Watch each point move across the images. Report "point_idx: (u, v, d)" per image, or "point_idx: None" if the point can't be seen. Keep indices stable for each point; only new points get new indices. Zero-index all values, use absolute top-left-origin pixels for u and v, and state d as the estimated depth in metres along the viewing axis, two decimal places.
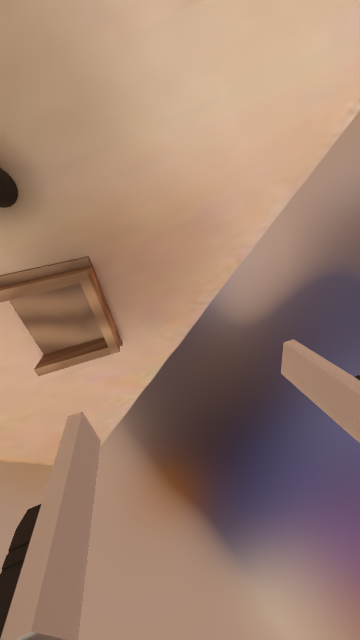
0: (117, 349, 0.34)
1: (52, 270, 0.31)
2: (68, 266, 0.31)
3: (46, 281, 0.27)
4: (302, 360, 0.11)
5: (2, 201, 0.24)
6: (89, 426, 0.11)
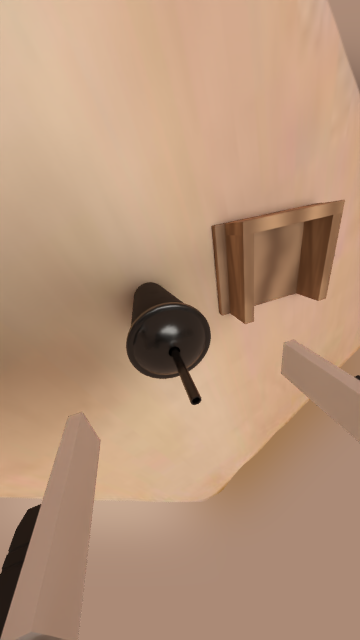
0: (341, 202, 0.25)
1: (222, 267, 0.29)
2: (221, 250, 0.27)
3: (245, 269, 0.25)
4: (301, 360, 0.11)
5: None
6: (89, 426, 0.11)
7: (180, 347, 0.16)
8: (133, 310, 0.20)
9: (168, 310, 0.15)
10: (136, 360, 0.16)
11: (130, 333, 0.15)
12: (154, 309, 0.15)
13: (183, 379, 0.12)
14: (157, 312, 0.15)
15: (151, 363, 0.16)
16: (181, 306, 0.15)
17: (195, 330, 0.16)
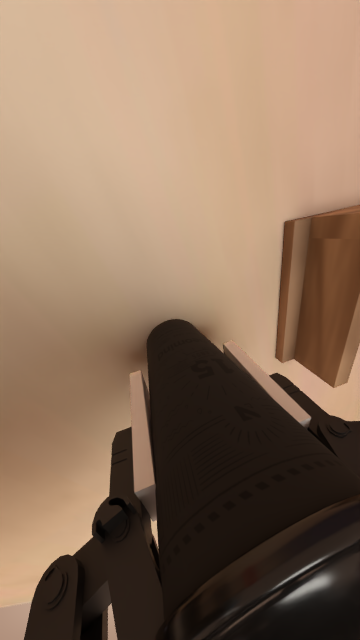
0: None
1: (295, 291, 0.17)
2: (298, 263, 0.16)
3: (358, 303, 0.13)
4: (234, 359, 0.12)
5: (213, 344, 0.14)
6: (145, 383, 0.13)
7: None
8: (155, 411, 0.09)
9: (341, 568, 0.03)
10: None
11: None
12: (289, 579, 0.03)
13: None
14: (300, 589, 0.03)
15: None
16: None
17: None
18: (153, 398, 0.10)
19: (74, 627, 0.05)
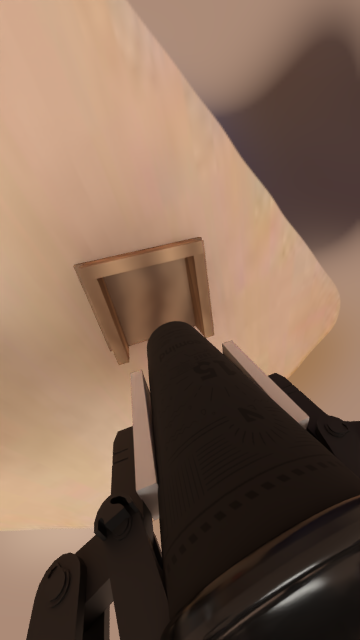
0: (199, 242, 0.23)
1: None
2: None
3: (98, 313, 0.23)
4: (233, 359, 0.12)
5: None
6: (145, 382, 0.13)
7: None
8: (158, 412, 0.09)
9: (346, 565, 0.04)
10: None
11: None
12: (296, 575, 0.03)
13: None
14: (308, 585, 0.03)
15: None
16: None
17: None
18: (155, 399, 0.10)
19: (76, 625, 0.05)
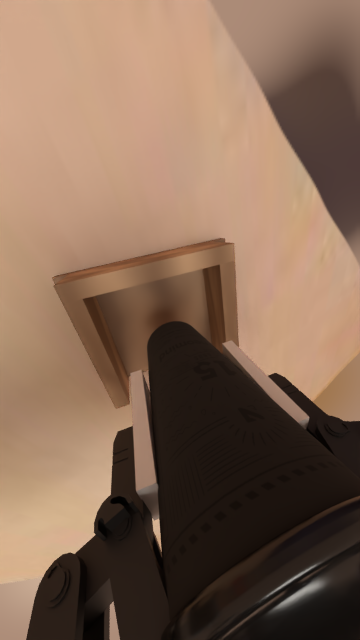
0: (228, 246, 0.16)
1: None
2: None
3: (86, 346, 0.17)
4: (232, 359, 0.12)
5: None
6: (145, 382, 0.13)
7: None
8: (158, 412, 0.09)
9: (347, 566, 0.04)
10: None
11: None
12: (297, 576, 0.03)
13: None
14: (308, 586, 0.03)
15: None
16: None
17: None
18: (155, 399, 0.10)
19: (76, 625, 0.05)
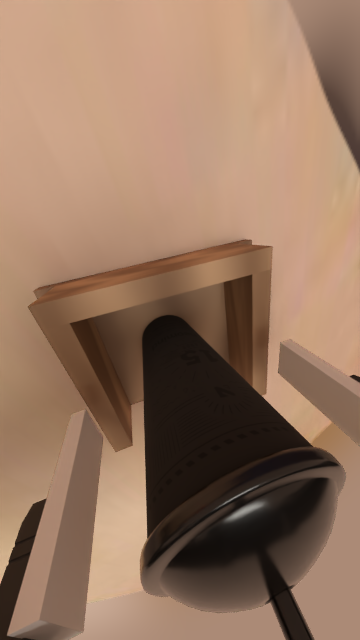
0: (265, 251, 0.12)
1: None
2: None
3: (76, 382, 0.13)
4: (298, 360, 0.11)
5: None
6: (92, 423, 0.11)
7: (297, 582, 0.05)
8: (148, 393, 0.10)
9: (278, 491, 0.05)
10: (166, 593, 0.06)
11: (157, 559, 0.05)
12: (239, 495, 0.05)
13: None
14: (247, 503, 0.05)
15: (208, 611, 0.06)
16: (310, 470, 0.05)
17: (332, 520, 0.06)
18: (146, 382, 0.11)
19: None
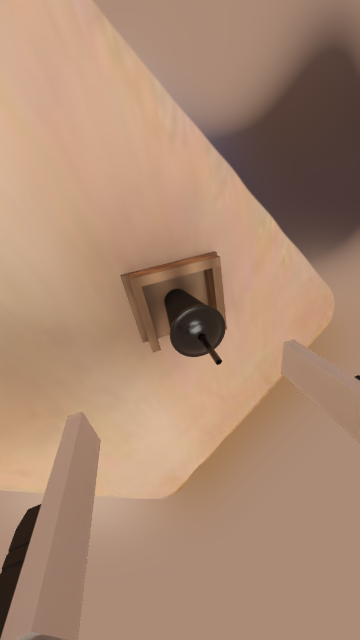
0: (216, 258, 0.31)
1: (135, 306, 0.35)
2: (130, 293, 0.34)
3: (141, 312, 0.31)
4: (302, 360, 0.11)
5: None
6: (89, 426, 0.11)
7: (205, 334, 0.24)
8: (169, 309, 0.29)
9: (199, 309, 0.23)
10: (176, 342, 0.24)
11: (174, 323, 0.23)
12: (190, 308, 0.23)
13: (210, 351, 0.20)
14: (192, 310, 0.23)
15: (186, 344, 0.24)
16: (207, 307, 0.23)
17: (215, 323, 0.24)
18: (168, 308, 0.30)
19: None
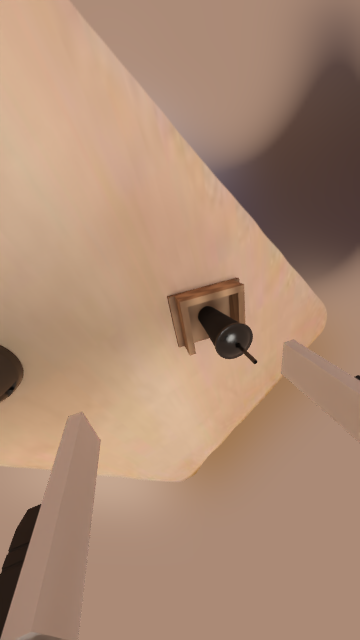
0: (241, 286, 0.41)
1: (176, 319, 0.45)
2: (174, 310, 0.44)
3: (184, 325, 0.42)
4: (302, 360, 0.11)
5: None
6: (89, 426, 0.11)
7: (240, 343, 0.34)
8: (209, 324, 0.39)
9: (236, 326, 0.34)
10: (219, 348, 0.35)
11: (219, 336, 0.34)
12: (231, 325, 0.34)
13: (247, 355, 0.31)
14: (232, 327, 0.34)
15: (226, 350, 0.34)
16: (242, 324, 0.34)
17: (247, 335, 0.34)
18: (207, 322, 0.40)
19: None
